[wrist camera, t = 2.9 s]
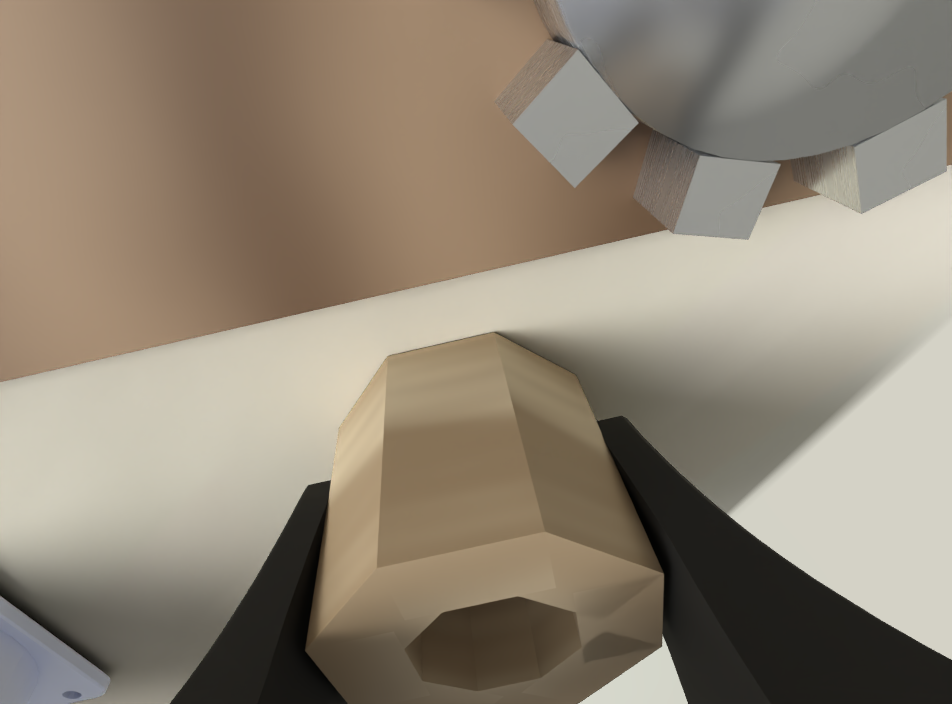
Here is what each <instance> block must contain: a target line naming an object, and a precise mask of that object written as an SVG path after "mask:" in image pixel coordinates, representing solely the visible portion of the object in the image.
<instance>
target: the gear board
mask: <svg viewBox="0 0 952 704" xmlns="http://www.w3.org/2000/svg"><path fill="white" fill-rule="evenodd" d="M547 39H549V40H552V41H553V39H552V38H551V36H550V34H549V33H548V31H547V29H546V27H545V26H544V24H543V22H542V20H541V18H540V15H539V13H538V11H537V8H536V6H535V3H534V1H533V0H0V382H3V381H7V380H11V379H16V378H20V377H25V376H29V375H33V374H38V373H42V372H46V371H51V370H55V369H60V368H64V367H68V366H73V365H77V364H81V363H86V362H90V361H95V360H99V359H103V358H108V357H112V356H116V355H121V354H125V353H130V352H134V351H138V350H143V349H147V348H151V347H156V346H160V345H165V344H169V343H173V342H178V341H182V340H186V339H191V338H195V337H200V336H204V335H208V334H213V333H217V332H221V331H226V330H230V329H234V328H239V327H243V326H248V325H252V324H256V323H261V322H265V321H269V320H274V319H278V318H283V317H287V316H291V315H296V314H300V313H304V312H309V311H313V310H318V309H322V308H326V307H331V306H335V305H339V304H344V303H348V302H353V301H357V300H361V299H366V298H370V297H374V296H379V295H383V294H388V293H392V292H396V291H401V290H405V289H409V288H414V287H418V286H423V285H427V284H431V283H436V282H440V281H444V280H449V279H453V278H458V277H462V276H466V275H471V274H475V273H479V272H484V271H488V270H493V269H497V268H501V267H506V266H510V265H514V264H519V263H523V262H528V261H532V260H536V259H541V258H545V257H549V256H554V255H558V254H563V253H567V252H571V251H576V250H580V249H584V248H589V247H593V246H598V245H602V244H606V243H611V242H615V241H619V240H624V239H628V238H632V237H637V236H641V235H646V234H650V233H654V232H659V231H663V230H667V228H666V227H665V226H664V225H663V224H662V223H661V222H660V221H659V220H658V219H656V218H655V217H654V216H653V215H652V214H651V213H650V212H649V211H648V210H647V209H645V208H644V207H643V206H642V205H641V204H640V203H639V202H638V201H637V200H635V199H634V198H633V196H634V192H635V189H636V185H637V182H638V178H639V175H640V171H641V168H642V164H643V161H644V157H645V154H646V150H647V147H648V144H649V140H650V137H651V133H652V130H653V129H652V128H651V127H649V126H647V125H645V124H644V123H642V122H640V121H638V120H637V121H638V124H637V125H636V126H635V127H634V128H633V129H632V130H631V131H630V132H629V133H628V134H627V135H626V136H625V137H624V138H623V139H622V141H621V142H620V143H619V144H618V145H617V146H616V147H615V148H614V149H613V150H612V151H611V152H610V153H609V154H608V155H607V156H606V157H605V158H604V159H603V160H602V161H601V162H600V163H599V164H598V165H597V166H596V167H595V168H594V169H593V170H592V171H591V172H590V173H589V174H588V175H587V176H586V177H585V178H584V179H583V180H582V181H581V182H580V183H579V184H578V185H577V186H576V187H575V188H574V187H573V186H572V185H571V184H570V183H569V182H568V181H567V180H566V179H565V178H564V177H563V176H562V175H561V174H560V172H559V171H558V170H557V169H556V168H555V167H554V166H553V165H552V164H551V163H550V162H549V161H548V160H547V159H546V158H545V157H544V156H543V155H542V154H541V153H540V152H539V151H538V150H537V149H536V148H535V147H534V146H533V145H532V144H531V143H530V142H529V141H528V140H527V139H526V138H525V137H524V136H523V135H522V134H521V133H520V132H519V131H518V130H517V129H516V128H515V127H514V126H513V125H512V123H511V122H510V121H509V120H508V118H507V117H506V116H505V115H504V113H503V112H502V111H501V110H500V108H499V107H498V106H497V105H496V103H495V102H494V101H495V100H496V99H497V98H498V97H499V95H500V94H501V93H502V92H503V91H504V89H505V88H506V87H507V86H508V85H509V84H510V82H511V81H512V80H513V79H514V78H515V76H516V75H517V74H518V73H519V72H520V71H521V69H522V68H523V67H524V66H525V65H526V63H527V62H528V61H529V60H530V59H531V57H532V56H533V55H534V54H535V53H536V52H537V50H538V49H539V48H540V47H541V46H542V44H543V43H544V42H545V41H546V40H547ZM942 98H945V99H947V165H952V91H951V92H950V93H948V94H947V95H945V96H944V97H942ZM773 161H775V162H777V163H779V164H781V165H780V167H779V170H778V172H777V174H776V177H775V179H774V181H773V184H772V186H771V188H770V191H769V193H768V195H767V198H766V200H765V202H764V204H763V207H762V208H764V207H768V206H772V205H777V204H781V203H786V202H790V201H794V200H799V199H803V198H807V197H812V196H816V195H821V194H820V193H818V192H816V191H814V190H812V189H809V188H807V187H805V186H803V185H801V184H799V183H797V182H795V181H794V178H793V172H792V167H791V161H790V159H789V160H773Z"/></svg>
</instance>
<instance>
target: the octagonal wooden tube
mask: <svg viewBox="0 0 952 704" xmlns="http://www.w3.org/2000/svg"><path fill="white" fill-rule="evenodd" d="M663 590H664V573H663V570H662V568H661V566H660V564H659V561H658V559H657V557H656V555H655V552H654V550H653V548H652V546H651V543H650V541H649V539H648V537H647V534H646V532H645V530H644V527H643V525H642V523H641V521H640V518H639V516H638V514H637V512H636V509H635V507H634V505H633V503H632V500H631V498H630V496H629V494H628V491H627V489H626V487H625V485H624V482H623V480H622V478H621V476H620V473H619V471H618V469H617V466H616V464H615V462H614V460H613V457H612V456H611V454H610V452H609V450H608V447H607V445H606V443H605V441H604V438H603V436H602V433H601V430H600V428H599V426H598V424H597V421H596V419H595V417H594V415H593V412H592V410H591V408H590V405H589V403H588V401H587V399H586V396H585V394H584V392H583V390H582V387H581V385H580V383H579V381H578V378H577V376H576V375H575V374H573V373H571V372H569V371H567V370H565V369H563V368H562V367H560V366H558V365H556V364H554V363H552V362H550V361H548V360H546V359H544V358H542V357H540V356H538V355H537V354H535V353H533V352H531V351H529V350H527V349H525V348H523V347H521V346H519V345H517V344H515V343H513V342H512V341H510V340H508V339H506V338H504V337H502V336H500V335H498V334H496V333H494V332H493V333H489V334H484V335H480V336H475V337H471V338H467V339H462V340H458V341H453V342H449V343H444V344H440V345H436V346H431V347H427V348H422V349H418V350H413V351H409V352H405V353H400V354H396V355H391V356H387V358H386V359H385V361H384V362H383V364H382V365H381V367H380V368H379V370H378V371H377V373H376V374H375V376H374V377H373V379H372V380H371V382H370V383H369V384H368V386H367V387H366V389H365V390H364V392H363V393H362V395H361V396H360V398H359V399H358V401H357V402H356V404H355V405H354V407H353V408H352V410H351V411H350V413H349V414H348V416H347V417H346V419H345V420H344V421H343V423H342V424H341V426H340V427H339V432H338V439H337V445H336V452H335V458H334V465H333V471H332V478H331V484H330V491H329V499H328V505H327V512H326V517H325V523H324V530H323V536H322V543H321V549H320V556H319V562H318V569H317V575H316V582H315V588H314V595H313V601H312V608H311V614H310V621H309V627H308V634H307V641H306V647H305V651H306V652H307V654H308V655H309V656H310V657H311V659H312V660H313V661H314V662H315V664H316V665H317V666H318V667H319V669H320V670H321V671H322V672H323V673H324V675H325V676H326V677H327V678H328V680H329V681H330V682H331V683H332V685H333V686H334V687H335V688H336V690H337V691H338V692H339V693H340V694H341V696H342V697H343V698H344V699H345V701H346V702H347V703H348V704H578V703H580V702H581V701H583V700H584V699H586V698H587V697H589V696H590V695H592V694H593V693H594V692H596V691H597V690H599V689H600V688H602V687H603V686H605V685H606V684H608V683H609V682H611V681H612V680H613V679H615V678H616V677H618V676H619V675H621V674H622V673H624V672H625V671H627V670H628V669H630V668H631V667H633V666H634V665H635V664H637V663H638V662H640V661H641V660H643V659H644V658H646V657H647V656H648V655H650V654H652V653H653V652H654V651H656V650H657V649H659V648H660V647H662V629H663Z"/></svg>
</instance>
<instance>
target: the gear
mask: <svg viewBox="0 0 952 704" xmlns="http://www.w3.org/2000/svg"><path fill="white" fill-rule="evenodd" d="M533 1H534V3H535V6H536V8H537V11H538V13H539V15H540V18H541V20H542V22H543V24H544V26H545V27H546V29H547V31H548V33H549V34H550V36H551V38H552V39H553V41H552V40H549V39H547V40H546V41H545V42H544V43H543V44H542V46H541V47H540V48H539V49H538V50H537V52H536V53H535V54H534V55H533V56H532V57H531V59H530V60H529V61H528V62H527V63H526V65H525V66H524V67H523V68H522V69H521V71H520V72H519V73H518V74H517V75H516V76H515V78H514V79H513V80H512V81H511V82H510V84H509V85H508V86H507V87H506V88H505V89H504V91H503V92H502V93H501V94H500V95H499V97H498V98H497V99H496V100H495V101H494V102H495V103H496V105H497V106H498V107H499V108H500V110H501V111H502V112H503V113H504V115H505V116H506V117H507V118H508V120H509V121H510V122H511V123H512V125H513V126H514V127H515V128H516V129H517V130H518V131H519V132H520V133H521V134H522V135H523V136H524V137H525V138H526V139H527V140H528V141H529V142H530V143H531V144H532V145H533V146H534V147H535V148H536V149H537V150H538V151H539V152H540V153H541V154H542V155H543V156H544V157H545V158H546V159H547V160H548V161H549V162H550V163H551V164H552V165H553V166H554V167H555V168H556V169H557V170H558V171H559V172H560V174H561V175H562V176H563V177H564V178H565V179H566V180H567V181H568V182H569V183H570V184H571V185H572V186H573V187H574V188H575V187H576V186H577V185H578V184H579V183H580V182H581V181H582V180H583V179H584V178H585V177H586V176H587V175H588V174H589V173H590V172H591V171H592V170H593V169H594V168H595V167H596V166H597V165H598V164H599V163H600V162H601V161H602V160H603V159H604V158H605V157H606V156H607V155H608V154H609V153H610V152H611V151H612V150H613V149H614V148H615V147H616V146H617V145H618V144H619V143H620V142H621V141H622V139H623V138H624V137H625V136H626V135H627V134H628V133H629V132H630V131H631V130H632V129H633V128H634V127H635V126H636V125H637V124H638V121H640V122H642V123H644V124H645V125H647V126H649V127H651V128H652V129H653V130H652V133H651V137H650V140H649V144H648V147H647V150H646V154H645V157H644V161H643V164H642V168H641V171H640V175H639V178H638V182H637V185H636V189H635V192H634V196H633V198H634V199H635V200H637V201H638V202H639V203H640V204H641V205H642V206H643V207H644V208H645V209H647V210H648V211H649V212H650V213H651V214H652V215H653V216H654V217H655V218H656V219H658V220H659V221H660V222H661V223H662V224H663V225H664V226H665V227H666V228H667V229H669V230H670V231H671V232H672V233H673V234H683V235H696V236H709V237H721V238H734V239H747V240H748V239H749V237H750V235H751V232H752V230H753V228H754V225H755V223H756V221H757V218H758V216H759V214H760V211H761V209H762V207H763V204H764V202H765V200H766V198H767V195H768V193H769V191H770V188H771V186H772V184H773V181H774V179H775V177H776V174H777V172H778V170H779V167H780V165H781V164H779V163H777V162H775V161H773V160H789V159H790V161H791V167H792V172H793V178H794V181H795V182H797V183H799V184H801V185H803V186H805V187H807V188H809V189H812V190H814V191H816V192H818V193H820V194H822V195H824V196H826V197H828V198H830V199H832V200H834V201H836V202H838V203H840V204H842V205H844V206H846V207H848V208H850V209H852V210H854V211H857V212H859V213H861V214H862V213H864V212H866V211H868V210H870V209H872V208H874V207H876V206H878V205H880V204H882V203H884V202H886V201H888V200H890V199H892V198H894V197H896V196H898V195H900V194H902V193H904V192H906V191H908V190H910V189H912V188H914V187H916V186H918V185H920V184H922V183H924V182H926V181H928V180H930V179H932V178H934V177H936V176H938V175H940V174H942V173H944V172H946V171H947V99H945V98H942V97H944V96H945V95H947V94H948V93H950V92H951V91H952V0H533ZM637 120H638V121H637Z"/></svg>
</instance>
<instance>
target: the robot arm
mask: <svg viewBox="0 0 952 704" xmlns="http://www.w3.org/2000/svg"><path fill="white" fill-rule="evenodd" d="M597 424H598V426H599V428H600V430H601V433H602V436H603V438H604V441H605V443H606V445H607V447H608V450H609V452H610V454H611V456H612V457H613V460H614V462H615V464H616V466H617V469H618V471H619V473H620V476H621V478H622V480H623V482H624V485H625V487H626V489H627V491H628V494H629V496H630V498H631V500H632V503H633V505H634V507H635V509H636V512H637V514H638V516H639V518H640V521H641V523H642V525H643V527H644V530H645V532H646V534H647V537H648V539H649V541H650V543H651V546H652V548H653V550H654V552H655V555H656V557H657V559H658V561H659V564H660V566H661V568H662V570H663V573H664V590H663V629H662V634H663V637H664V639H665V641H666V644H667V646H668V649H669V651H670V654H671V657H672V660H673V662H674V665H675V668H676V671H677V674H678V676H679V679H680V682H681V685H682V687H683V690H684V693H685V696H686V699H687V701H688V704H952V660H951V659H949V658H947V657H945V656H943V655H942V654H940V653H938V652H936V651H934V650H932V649H930V648H928V647H927V646H925V645H923V644H922V643H920V642H918V641H916V640H915V639H913V638H911V637H909V636H908V635H906V634H904V633H902V632H900V631H899V630H897V629H895V628H894V627H892V626H890V625H888V624H886V623H885V622H883V621H881V620H880V619H878V618H876V617H875V616H873V615H871V614H870V613H868V612H867V611H865V610H864V609H862V608H860V607H859V606H857V605H855V604H854V603H852V602H851V601H849V600H847V599H846V598H844V597H843V596H841V595H839V594H838V593H836V592H835V591H833V590H831V589H830V588H828V587H826V586H825V585H823V584H822V583H820V582H819V581H817V580H816V579H814V578H812V577H811V576H810V575H808V574H807V573H805V572H804V571H802V570H801V569H799V568H798V567H796V566H795V565H794V564H792V563H791V562H789V561H788V560H786V559H785V558H783V557H782V556H781V555H779V554H778V553H776V552H775V551H774V550H772V549H771V548H770V547H768V546H767V545H766V544H764V543H762V542H761V541H760V540H759V539H757V538H756V537H755V536H753V535H752V534H751V533H749V532H748V531H747V530H746V529H744V528H743V527H742V526H741V525H739V524H738V523H737V522H736V521H734V520H733V519H732V518H731V517H730V516H728V515H727V514H726V513H725V512H723V511H722V510H721V509H720V508H719V507H717V506H716V505H715V504H714V503H713V502H711V501H710V500H709V499H708V498H707V497H706V496H705V495H703V494H702V493H701V492H700V491H699V490H698V489H697V488H696V487H694V486H693V485H692V484H691V483H690V482H689V481H688V480H687V479H686V478H685V477H684V476H682V475H681V474H680V473H679V472H678V471H677V470H676V469H675V468H674V467H673V466H672V465H671V464H670V463H669V462H668V461H667V460H666V459H665V458H664V457H663V456H662V455H661V454H660V453H659V452H658V451H657V450H656V449H655V448H654V447H653V446H652V445H651V444H650V443H649V442H648V441H647V440H646V439H645V438H644V437H643V436H642V435H641V434H640V433H639V432H638V430H637V429H636V428H635V427H634V426H633V425H632V424H631V423H630V422H629V420H628V419H627V418H625V417H623V416H619V417H614V418H610V419H605V420H601V421H597ZM330 484H331V480H330V481H325V482H321V483H316V484H311V485H308V486H307V488H306V489H305V491H304V493H303V494H302V496H301V498H300V500H299V502H298V504H297V505H296V507H295V509H294V511H293V513H292V515H291V517H290V518H289V520H288V522H287V524H286V526H285V528H284V529H283V531H282V533H281V535H280V537H279V538H278V540H277V542H276V544H275V546H274V547H273V549H272V551H271V553H270V554H269V556H268V558H267V560H266V561H265V563H264V565H263V566H262V568H261V570H260V572H259V573H258V575H257V577H256V579H255V580H254V582H253V584H252V585H251V587H250V589H249V590H248V592H247V593H246V595H245V597H244V598H243V600H242V601H241V603H240V604H239V606H238V608H237V609H236V611H235V612H234V614H233V615H232V617H231V619H230V620H229V622H228V623H227V625H226V627H225V628H224V630H223V631H222V633H221V634H220V635H219V637H218V638H217V640H216V641H215V643H214V644H213V646H212V647H211V649H210V650H209V652H208V653H207V654H206V656H205V657H204V659H203V660H202V661H201V663H200V664H199V666H198V667H197V668H196V670H195V671H194V672H193V674H192V675H191V677H190V678H189V679H188V681H187V682H186V683H185V685H184V686H183V687H182V689H181V690H180V691H179V692H178V694H177V695H176V696H175V698H174V699H173V700H172V701H171V703H170V704H348V703H347V702H346V701H345V699H344V698H343V697H342V696H341V694H340V693H339V692H338V691H337V690H336V688H335V687H334V686H333V685H332V683H331V682H330V681H329V680H328V678H327V677H326V676H325V675H324V673H323V672H322V671H321V670H320V669H319V667H318V666H317V665H316V664H315V662H314V661H313V660H312V659H311V657H310V656H309V655H308V654H307V652H306V651H305V647H306V641H307V634H308V627H309V621H310V614H311V608H312V601H313V595H314V588H315V582H316V575H317V569H318V562H319V556H320V549H321V543H322V536H323V530H324V523H325V517H326V512H327V505H328V499H329V491H330ZM109 684H110V678H109V676H108V675H107V674H105V673H104V672H103V671H101V670H100V669H99V668H97V667H96V666H95V665H93V664H92V663H90V662H89V661H88V660H86V659H85V658H84V657H82V656H81V655H80V654H78V653H77V652H76V651H74V650H73V649H72V648H70V647H69V646H67V645H66V644H65V643H63V642H62V641H61V640H59V639H58V638H57V637H55V636H54V635H53V634H51V633H50V632H49V631H47V630H46V629H45V628H43V627H42V626H40V625H39V624H38V623H36V622H35V621H34V620H32V619H31V618H30V617H28V616H27V615H26V614H24V613H23V612H22V611H20V610H19V609H18V608H16V607H15V606H13V605H12V604H11V603H9V602H8V601H7V600H5V599H4V598H3V597H1V596H0V704H69V703H74V702H78V701H83V700H88V699H92V698H97V697H100V696H102V695H103V694H104V693H106V691H107V688H108V686H109Z"/></svg>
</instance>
